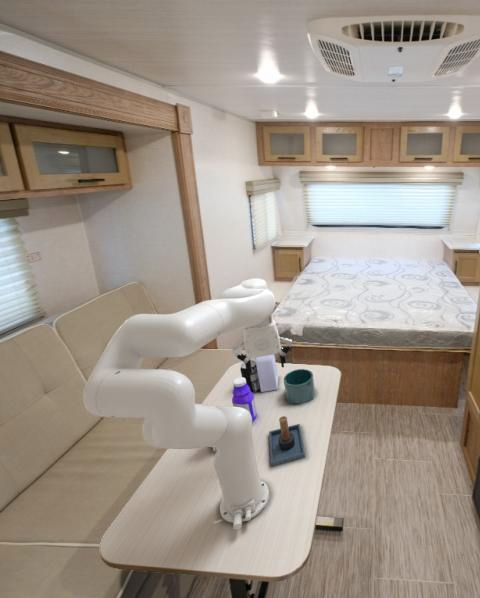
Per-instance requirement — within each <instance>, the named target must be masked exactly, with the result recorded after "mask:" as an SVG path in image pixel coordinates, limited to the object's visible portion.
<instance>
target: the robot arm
mask: <svg viewBox="0 0 480 598" xmlns="http://www.w3.org/2000/svg"><path fill="white" fill-rule="evenodd" d="M275 308H276V297H275V296H274V294H273V292H272V291H271V290H269V289H268V284H267V282H266V280H264V279H263V278H248V279H244V280H243V281H241V282H240V283H239V284H238V285H236V286H233V287H229V288H227V289H225V290H223V291H222V292H221V293H220V294H219V296H218V298H215V299H207V300H203V301H201V302H199V303H197V304H194V305H192V306H189V307H187V308H185V309H182V310H180V311H177V312H174V313H167V314H162V313H138V314H134V315H131V316H130V317H129V318H127V319H126V320H125V321H124V322H123V323H122V324H121V325H120V326H119V328H118V329H117V330H116V332H115V333H114V334H113V336H112V337H111V339H110V340H109V342H108V344H107V345H106V347H105V349H104V351H103V352H102V354H101V356H100V358H99V359H98V361H97V363H96V364H95V366H94V368H93V369H92V371H91V373H90V375H89V376H88V379H87V381H86V383H85V385H84V388H83V394H82V401H83V406H84V408H85V409H86V410H87V411H88V412H89V413H90V414H92V415H93V416H97V417H102V418H116V419H117V418H118V419H119V418H121V419H123V418H124V419H144V421H143V423H142V429H141V432H142V438H143V440H144V442H145V443H146V445H148V447H150V448H153V449H161V450H162V449H163V450H164V449H165V450H194V449H196V450H197V449H201V448H207V447H208V448H211V447H216V448H219V449H218V450H217V452H215V454H214V458H213V465H214V468H215V472H216V476H217V479H218V483H219V487H220V490H221V492H222V493H221V494H222V498H221V501H220V503H219V512H220V515H221V518H222V519H223V520H224V521H225V522H228V523H232V524H233V527H232V528H233V530H240V529H241V528H242V526H243V524H242V523H244V522H249V521H251V520H252V519H253V518H255V517H256V516H257V515H259V514H260V513H261V512H262V511H263V509H264V508H265V507H266V506H267V504H268V502H269V498H270V490H269V487H268V485H267V484H266V483H265V481H263V480H261V476H260V473H259V467H258V463H257V457H256V453H255V449H254V443H253V441H254V440H253V422H252V416H251V414H250V412H249V411H248V410H246V409H244V408H240V407H233V405H232V406H229V405H210V404H205V403H197V402H196V391H195V388H194V387H195V386H194V385H193V383H192V381H191V380H190V378H189V377H188V376H186V375H185V374H184V373H181V372H178V371H175V370H172V369H163V368H141V365H142V363H143V361H144V358H182V357H186V356H189V355H191V354H194V353H196V351H198V350H199V349H201V348H203V347H204V346H206V345H207V344H209V343H210V342H212V341H214V340H215V339H216V338H219V337H220V336H222V335H225V334H229V333H233V332H237V331H239V330H242V336H243V342H242V343H241V344H239V345H237V346H236V347H234V348H233V349H232V354H233V355H234V356H235V357H237V360H240V361H241V362H242V363H245V365H246V370H249V374H251V373H252V366H251V361H250V360H251V359H255V358H256V357H262V356H268V355H273V354H274V355H277V354H279V359H280V363H281V364H280V365H281V368H285V364H286V363H287V361H286V355H287V353H288V352H289V351H290V350H291V347H292V345H293V340H292V339H289V338H286V337H283V336H280V334H279V329H278V326H277V324H276V321H275V320H274V319H273V316H272V314H273V313H274V310H275ZM281 344H286V345H285V346H284V347H282V345H281ZM243 350H244V353H245V354H243V353H241V351H243Z"/></svg>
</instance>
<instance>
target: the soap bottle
mask: <svg viewBox="0 0 480 598" xmlns="http://www.w3.org/2000/svg"><path fill="white" fill-rule="evenodd" d="M254 359H255V362H256V366H257V372H258V377H259V382H260V392H262V393H263V392H264V393H265V392H271V391H277V390H278V385H279V374H278V367H277V361H276V354H273V355H268V356H262V357H256V358H254Z"/></svg>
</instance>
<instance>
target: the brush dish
mask: <svg viewBox="0 0 480 598" xmlns="http://www.w3.org/2000/svg"><path fill="white" fill-rule="evenodd" d="M288 428H289V432H290V433H292V434H293V435H294V440H295V445H294V447H293V448H291V449H290V450H286V451H284V450H281V449H280V447H279V442H278V438H279V437H280V435H282V434H281V428H277V429H274V430H269V431H268V433H269V452H270V465H271V467H275V466H279V465H282V464H286V463H290V462H292V461H296V460H299V459H303V458H305V457H306V453H305V452H306V451H305V447H304V441H303V434H302V429H301V424H300V423H297V424H293V425H288Z"/></svg>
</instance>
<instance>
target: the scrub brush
mask: <svg viewBox="0 0 480 598" xmlns="http://www.w3.org/2000/svg"><path fill="white" fill-rule="evenodd" d="M278 421H279V427H280V428H279V429H281V434H282V435H280V437H279V438H278V442H279V447H280V449H281V450H284V451H286V450H290V449H291V448H293V447H294V445H295V440H294V435H293V434H292V433H290V432H289V428H288V427H289V423H288V417H287V416H280V417H279V420H278Z"/></svg>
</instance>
